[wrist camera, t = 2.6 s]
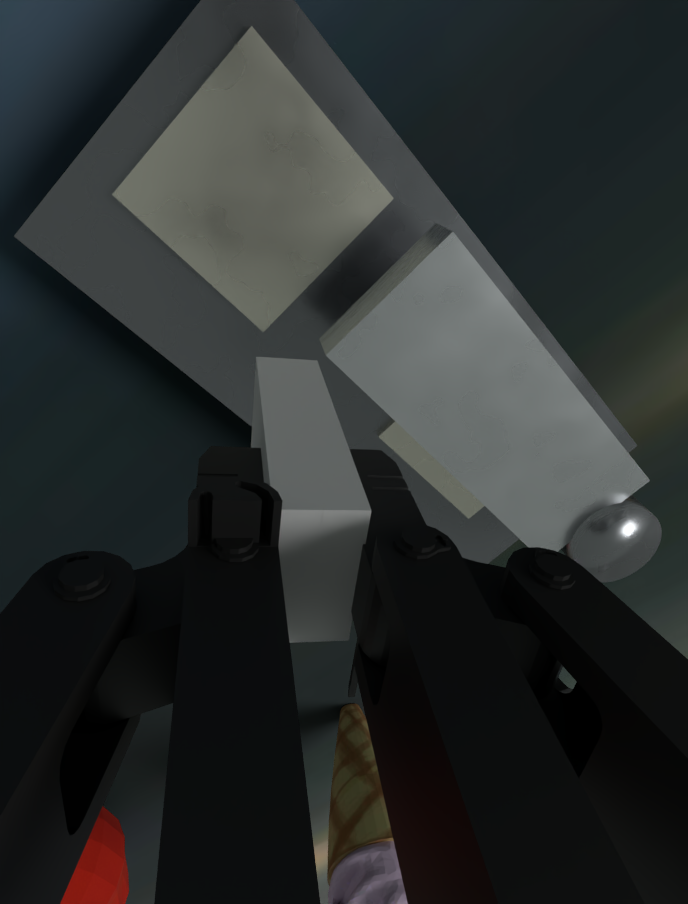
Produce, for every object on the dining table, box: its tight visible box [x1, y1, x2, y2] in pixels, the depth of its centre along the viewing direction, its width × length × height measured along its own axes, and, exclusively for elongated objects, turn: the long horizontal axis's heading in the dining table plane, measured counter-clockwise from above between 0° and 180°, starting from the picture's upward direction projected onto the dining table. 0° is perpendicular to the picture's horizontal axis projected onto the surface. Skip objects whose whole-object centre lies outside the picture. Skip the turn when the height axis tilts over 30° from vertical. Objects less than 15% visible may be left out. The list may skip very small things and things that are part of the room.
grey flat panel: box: [319, 223, 662, 582], centre depth 24 cm, size 6×18×2 cm, turn 44°
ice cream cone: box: [328, 704, 408, 904], centre depth 34 cm, size 7×6×15 cm
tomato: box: [60, 806, 129, 904], centre depth 37 cm, size 14×13×9 cm
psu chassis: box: [14, 0, 637, 564], centre depth 26 cm, size 12×26×5 cm, turn 44°
